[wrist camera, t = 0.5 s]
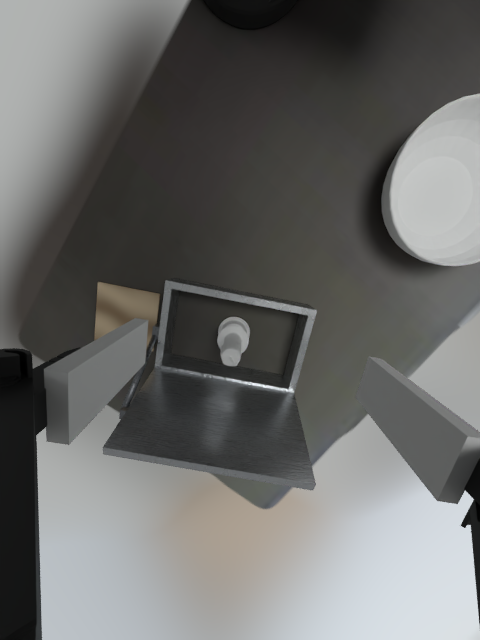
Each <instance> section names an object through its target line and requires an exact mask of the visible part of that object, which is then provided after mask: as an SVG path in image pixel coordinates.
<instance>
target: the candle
mask: <svg viewBox="0 0 480 640" xmlns="http://www.w3.org/2000/svg"><path fill="white" fill-rule="evenodd" d="M249 336H250V329H249V326H248V324H247V323H246V322H245V321H244V320H243V319H241V318H239V317H229V318H227V319H225V320H224V321H222V323H221V324H220V326H219V329H218V338H217V343H218V346H219V348H220V350H221V353H220V356H221V359H222V362H223V364H224V365H227V366H237V364H238V363H239V361H240V359H241V353H243V352H244V351H245V350H246V348H247V346H248V343H249V339H248V338H249Z"/></svg>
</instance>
